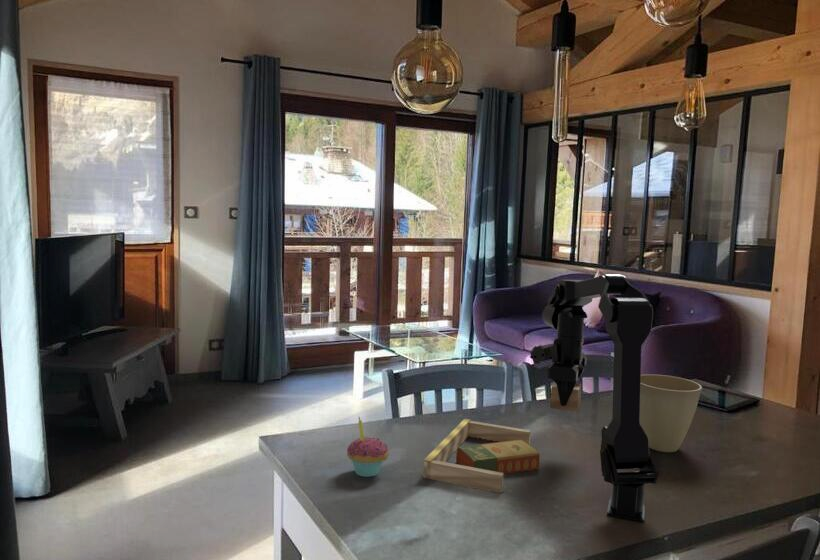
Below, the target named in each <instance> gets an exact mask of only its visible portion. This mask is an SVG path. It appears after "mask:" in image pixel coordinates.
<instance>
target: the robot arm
mask: <svg viewBox="0 0 820 560" xmlns="http://www.w3.org/2000/svg"><path fill="white" fill-rule="evenodd" d="M553 287H554V288H553V291H552V292H551V294H550V295H549V296H548V297H549V298H548V299H547V302H548V303H547V305H546V306H545V307H544V308H543V311H542V312H541V313H542V314H541V318H542V321H543V323H544V324H545V325H547V326H548V327H550V328H553V329H555V330H557V331H556V338H555V339H554V340H553V343H549V344H548V343H547V344H543V345H542V344H539V345H538V346H537V345H535V346H534V347H533V348H532V349H530V351H529V352H530V356H529V358H530V360H532V362H533V363H532V364H533V365H539V364H540V363H543V362H547V361H551V363H552V364H551V365H550V366H548V368H547V371H546V378H547V379H550V380H551V381H553V383H554V382H555V383H556V384H557V388H558V393H559V399H560V404H561V405H562V406H566V404H567V402H568V400H569V398H570V396H571V393H572V391H573V389H574V387H575V385H576V383H579V381H580V378H581V376H582V374H583V373H584V370H585V367H586V365H587V360H588V356H587V355H586V354H585V353H584V352H583V345H584V341H585V340H584V339H585V338H584V337H583V336H584V326H585V325H584V322H585V319H587V318H588V314H587V312H586V311H585V310H584V309H583V307H585V306H587V305H589V304H591V303H592V302H593V299H596V298H600V300H599V303H598V305H597V306H598V309H599V311H600V313H601V315H602V317H603V318H604V322H605V331H606V333H607V334H608V336H609V337H610V339H611V341H612V342H613V347H614V348H613V377H612V379H613V382H612V386H613V387H612V419H611V421H610V423H609V424H608V425H607V426H606V425H605V426H603V427H602V428H601V431H600V432H601V443H600V450H599V453H600V454H599V455H600V465H601V466H600V467H601V474H602V475H601V476H602V477H603V481H604V482H606V483H608V484H611V496H610V498H609V501H608V505H607V509H606V514H607V515H608V516H612V517H616V518H623V519H627V520H632V521H638V522H644V521H645V517H646V516H645V513H646V505H645V504H644V501H645V500H644V499H645V498H644V497H645V485H646V484H648V485H650V484H652V485H656V484H657V482H658V478H659V473H658V470H657V468H656V465H655V462H654V459H653V455H652V452H651V448H649V440H648V437H647V435H646V433H645V432H644V430H643V428H642V426H641V425H640V391H641V375H642V349H643V345H644V344H645V342H646V341H647V339H648V337H649V336H650V334H651V332H652V326H653V320H654V315H655V313H654V312H655V311H654V307H653V305H652V304H651V303H650V300H649V299H648V297H647V296H646V294H645V293H644V292H643V291H641V290H640V289H639V288H637V287H636V286H635V285H633V284H632V283H630V281H629V279H628V277H626V276H625V275H622V274H618V273H617V274H616V273H615V274H612V273H611V274H610V273H608V274H607V273H603V274H600V275H599V276H596V277H592V278H587V279H559V280H558V281H557V282H556V284H555V285H554V286H553ZM613 295H614V296H615V295H619V296H620V297H612V298H611V299H610V296H613ZM581 364H582V367H581V366H580V365H581ZM635 469H636V470H635ZM618 470H626V471H618ZM627 470H628V471H627ZM629 470H630V471H629Z"/></svg>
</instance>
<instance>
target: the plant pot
mask: <svg viewBox="0 0 820 560" xmlns="http://www.w3.org/2000/svg"><path fill="white" fill-rule="evenodd" d="M702 389H703V386H702V385H701V384H699V383H698V382H696V381H694V380H691V379H687V378H682V377H680V376H679V377H678V376H673V375H664V374H641V391H640V425H641V426H642V428H643V430H644V432H645V433H646V435H647V437H648V440H649V449H650V450H651V449H652V450H655V451H657V452H662V453H674V452H677V451H678V450H679V448H680V447H681V445H682V444H683V441H684V439H685V437H686V435H687V433H688V432H689V428H690V427H691V424H692V422H693V418H694V416H695V413H696V411H697V407H698V403H699V400H700V395H701V391H702Z"/></svg>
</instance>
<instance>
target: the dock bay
mask: <svg viewBox="0 0 820 560" xmlns="http://www.w3.org/2000/svg"><path fill="white" fill-rule="evenodd" d="M531 433H532V432H531V430H530V429H524V428H517V427H512V426H505V425H499V424H494V423H493V424H492V423H487V422H486V423H485V422H482V421H481V422H480V421H473V420H471V419H468V418H464V419H463V420H462V421H461V422H460V423H459V424H458V425H457V426H456V427H455V428H454V429H453V430H452V431H451V432H450V433H449V434H448V435H447V436H446V437H445V438H444V439H443V440H441V442H440V443H439V444H438V445H437V446H436V447H435V448H434V449H433V450H432V451H431V452H430V453H429V454H428V455H427V456H426V457H425V458H424V459H423V470H422V471H423V475H422V476H423V478H424V479H427V480H434V481H438V482H443V483H448V484H453V485H458V486H464V487H468V488H473V489H474V488H475V489H479V490H484V491H487V492H488V491H489V492H494V493H499V494H502V492H503V490H504V478H505V477H504V475H505V473H501V472H495V471H490V470H484V469H479V468H474V467H468V466H463V465H458V464H457V463H452V462H451V463H450V462H447V459H450V457H451V456H452V455H454V453H455V452H457V450H456V449H458V447H459V446H462V444H463V443H464V442H465V441H466V440H467V438H468V437H469V438H474V439H475V437H476V439H479V438H481V439H480V440H485V439H486V440H485V441H491V440H492V442H497V441H498V442H504V441H512V440H522V441H524V442H525V443H527V444H528V445H530V446H531Z"/></svg>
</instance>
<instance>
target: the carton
mask: <svg viewBox="0 0 820 560" xmlns="http://www.w3.org/2000/svg"><path fill="white" fill-rule="evenodd" d="M455 456H456V458H455V464H458V465H463V466H468V467H474V468H479V469H484V470H490V471H495V472H501V473H504V474H511V473H510V472H512V473H518V472H517V471H520V472H526V471H525V470H528V471H534V470H533V469H536V470H540V452H539V451H538V450H537V449H535V448H534V447H533V446H531V444H530V445H528V444H527V443H525V442H524V441H522V440H512V441H504V442H497V441H495V442H487V443H478V444H472V445H460V446H459V447H458V448H457V450H456V455H455Z"/></svg>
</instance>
